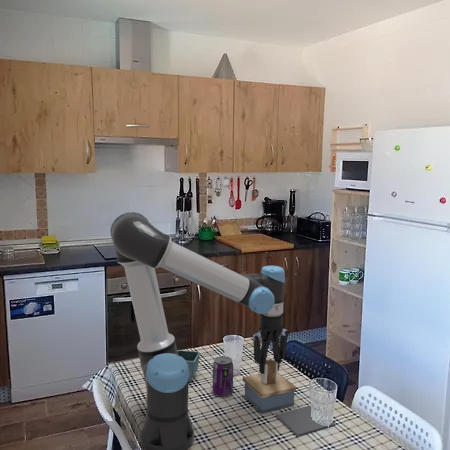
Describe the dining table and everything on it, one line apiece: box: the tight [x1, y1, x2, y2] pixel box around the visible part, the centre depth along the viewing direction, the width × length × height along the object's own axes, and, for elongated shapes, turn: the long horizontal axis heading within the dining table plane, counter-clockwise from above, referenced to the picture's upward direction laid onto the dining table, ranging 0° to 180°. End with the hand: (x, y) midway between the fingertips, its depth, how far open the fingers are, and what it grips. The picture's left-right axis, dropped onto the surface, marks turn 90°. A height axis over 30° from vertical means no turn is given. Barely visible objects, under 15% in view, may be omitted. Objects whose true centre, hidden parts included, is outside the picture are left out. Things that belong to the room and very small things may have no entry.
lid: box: [241, 359, 297, 398], centre depth 150 cm, size 13×13×8 cm
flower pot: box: [177, 349, 201, 383], centre depth 165 cm, size 9×9×9 cm
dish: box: [244, 382, 295, 414], centre depth 151 cm, size 12×12×5 cm
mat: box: [275, 404, 336, 437], centre depth 140 cm, size 14×12×1 cm
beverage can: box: [211, 355, 234, 397], centre depth 155 cm, size 7×7×12 cm
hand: (268, 380), depth 150 cm, fingers closed on lid, 3 cm apart
